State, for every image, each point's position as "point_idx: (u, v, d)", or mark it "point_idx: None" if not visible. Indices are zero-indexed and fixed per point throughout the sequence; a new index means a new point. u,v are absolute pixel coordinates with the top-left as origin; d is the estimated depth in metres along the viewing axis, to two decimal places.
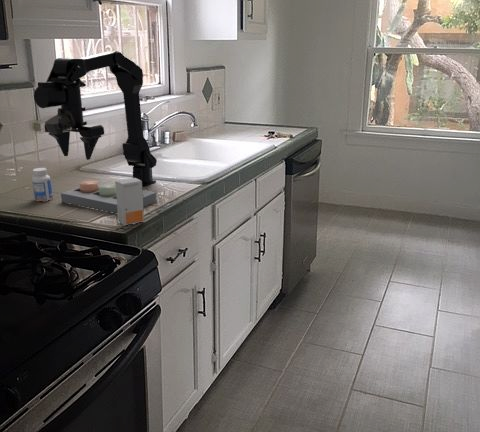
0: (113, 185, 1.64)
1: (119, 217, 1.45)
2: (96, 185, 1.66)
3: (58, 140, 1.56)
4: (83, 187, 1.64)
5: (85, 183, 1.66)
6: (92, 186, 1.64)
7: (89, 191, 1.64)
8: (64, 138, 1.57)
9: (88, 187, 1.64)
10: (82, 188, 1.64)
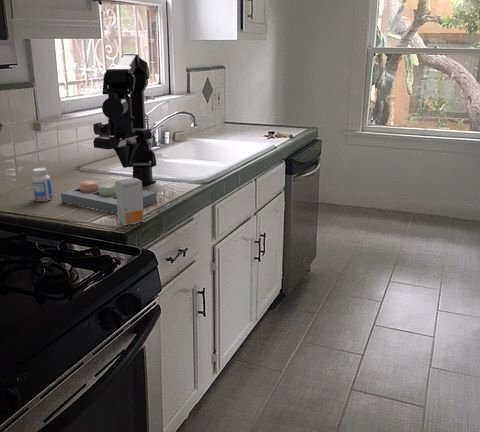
0: (113, 185, 1.64)
1: (119, 217, 1.45)
2: (96, 185, 1.66)
3: None
4: (83, 187, 1.64)
5: (85, 183, 1.66)
6: (92, 186, 1.64)
7: (89, 191, 1.64)
8: None
9: (88, 187, 1.64)
10: (82, 188, 1.64)
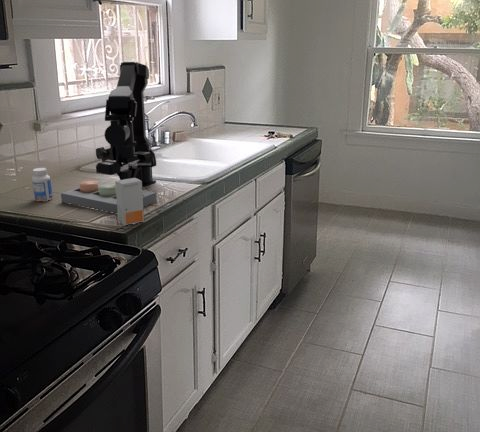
0: (113, 185, 1.64)
1: (119, 217, 1.45)
2: (96, 185, 1.66)
3: None
4: (83, 187, 1.64)
5: (85, 183, 1.66)
6: (92, 186, 1.64)
7: (89, 191, 1.64)
8: None
9: (88, 187, 1.64)
10: (82, 188, 1.64)
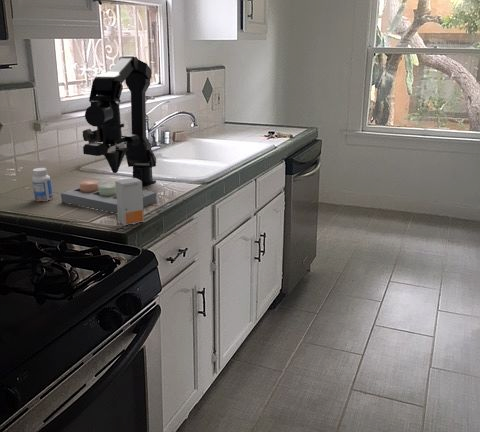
0: (113, 185, 1.64)
1: (119, 217, 1.45)
2: (96, 185, 1.66)
3: None
4: (83, 187, 1.64)
5: (85, 183, 1.66)
6: (92, 186, 1.64)
7: (89, 191, 1.64)
8: None
9: (88, 187, 1.64)
10: (82, 188, 1.64)
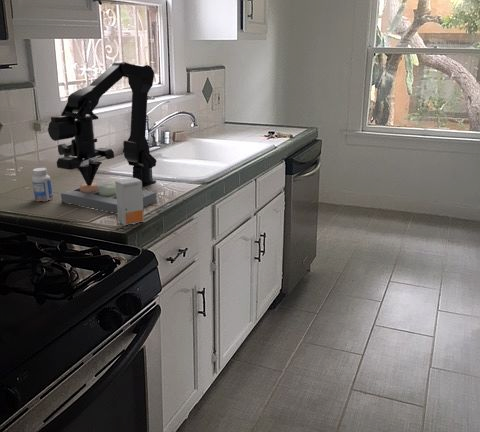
0: (113, 185, 1.64)
1: (119, 217, 1.45)
2: (96, 187, 1.66)
3: None
4: (83, 189, 1.64)
5: (85, 185, 1.66)
6: (92, 188, 1.65)
7: (89, 193, 1.65)
8: None
9: (88, 189, 1.64)
10: (82, 190, 1.65)
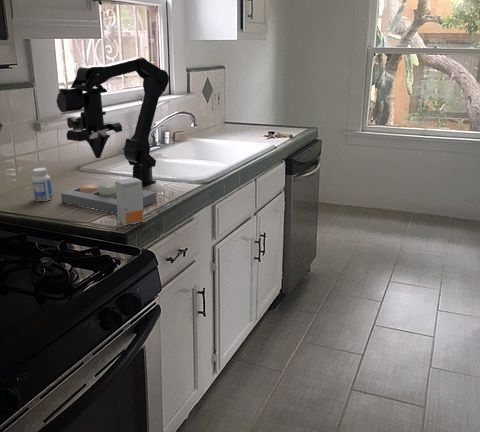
0: (113, 185, 1.64)
1: (119, 217, 1.45)
2: (96, 189, 1.66)
3: None
4: (83, 191, 1.65)
5: (85, 187, 1.66)
6: (92, 190, 1.65)
7: None
8: None
9: (88, 191, 1.64)
10: None
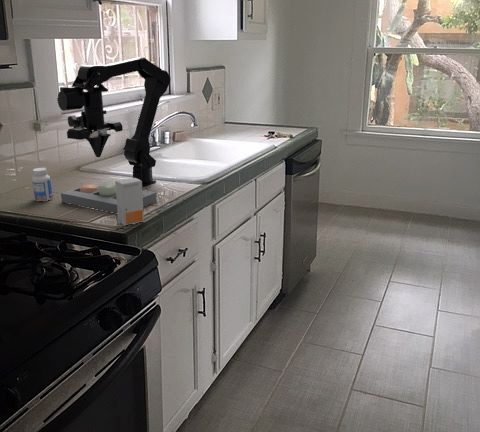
0: (113, 185, 1.64)
1: (119, 217, 1.45)
2: (96, 189, 1.66)
3: None
4: (83, 191, 1.65)
5: (85, 187, 1.66)
6: (92, 190, 1.65)
7: None
8: None
9: (88, 191, 1.64)
10: None
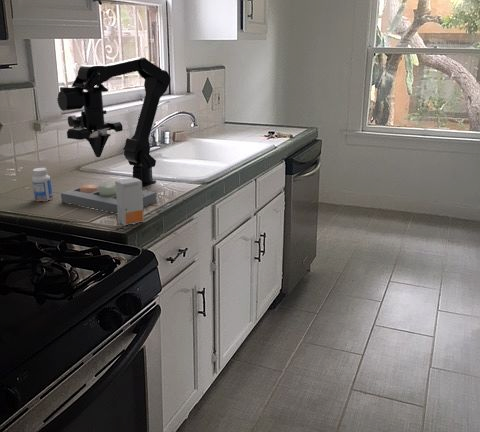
0: (113, 185, 1.64)
1: (119, 217, 1.45)
2: (96, 189, 1.66)
3: None
4: (83, 191, 1.65)
5: (85, 187, 1.66)
6: (92, 190, 1.65)
7: None
8: None
9: (88, 191, 1.64)
10: None
